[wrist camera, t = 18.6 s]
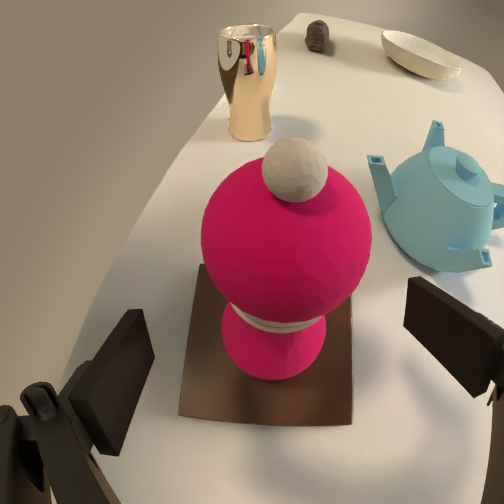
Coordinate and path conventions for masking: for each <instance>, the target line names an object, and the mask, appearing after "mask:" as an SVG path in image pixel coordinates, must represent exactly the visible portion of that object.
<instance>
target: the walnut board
mask: <svg viewBox="0 0 504 504" xmlns="http://www.w3.org/2000/svg"><path fill="white" fill-rule="evenodd" d="M228 302H229V301H228V300H227V299H226V298H225V297H224V296H223V295H222V293H221V292H220V291H219V290H218V289H217V287H216V286H215V284H214V282H213V280H212V278H211V277H210V275H209V273H208V271H207V268H206V265H205V264H200V266H199V271H198V277H197V283H196V289H195V295H194V302H193V308H192V314H191V321H190V328H189V335H188V342H187V349H186V356H185V363H184V371H183V379H182V387H181V395H180V404H179V413H178V415H179V416H185V417H192V418H198V419H206V420H214V421H222V422H232V423H244V424H258V425H278V426H331V425H351V424H352V392H353V354H352V320H351V300H350V296H349V297H348V298H347V299H345V300H344V301H343V302H342V303H341V304H340V305H339V306H338V307H337V308H335V309H334V310H332V311H330V312H329V313H327V314H325V319H326V335H325V339H324V342H323V345H322V348H321V350H320V352H319V354H318V356H317V357H316V359H315V360H314V361H313V362H312V364H311V365H310V366H309V367H307V368H306V369H305V370H304V371H302V372H300V373H299V374H297V375H295V376H292V377H289V378H286V379H280V380H266V379H260V378H257V377H254V376H251V375H250V374H248V373H246V372H244V371H243V370H241V369H240V368H239V367H238V366H237V365H236V364H235V363H234V362H233V361H232V360H231V358H230V357H229V355H228V354H227V351H226V349H225V347H224V343H223V339H222V330H221V323H222V317H223V313H224V310H225V308H226V306H227V304H228Z"/></svg>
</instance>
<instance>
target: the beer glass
mask: <svg viewBox="0 0 504 504" xmlns="http://www.w3.org/2000/svg"><path fill="white" fill-rule="evenodd" d="M217 34H218V64H219V71H220V76H221V80H222V84H223V87H224V90H225V93H226V97H227V100H228V104H229V109H230V118H229V126H228V130H229V133H230V134H231V136H233V137H234V138H236V139H238V140H242V141H257V140H261V139H263V138H265V137H267V136H268V135H269V134H270V133H271V131H272V123H271V118H270V112H269V107H270V100H271V95H272V91H273V86H274V82H275V76H276V70H277V47H276V35H275V30H274V28H272V27H269V26H266V25H260V24H239V25H233V26H228V27H225V28H223V29H221V30H219V31H218V33H217Z"/></svg>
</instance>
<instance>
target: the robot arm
mask: <svg viewBox="0 0 504 504" xmlns="http://www.w3.org/2000/svg"><path fill="white" fill-rule="evenodd" d="M403 326H404V327H405V328H406V329H407V330H408V331H409V332H410V333H411V334H412V335H413V336H414V337H415V338H416V339H417V340H418V341H419V342H420V343H421V344H422V345H423V346H424V347H425V348H426V349H427V350H428V351H429V352H430V353H431V354H432V355H433V356H434V357H435V358H436V359H437V360H438V361H439V362H440V363H441V364H442V365H443V366H444V367H445V368H446V369H447V370H448V371H449V373H450V374H451V375H452V376H453V377H454V378H455V379H456V380H457V381H458V382H459V383H460V384H461V385H462V386H463V387H464V388H465V389H466V390H467V392H468V393H469V394H470V395H471V396H472V397H473V398H475V397H477V396H479V395H481V394H483V393H485V392H486V391H487V389H488V386H489V384H490V381H491V380H492V381H493V382H494V383H495V387H494V389H493V391H492V394H491V396H490V398H489V401H488V403H487V406H489V405H490V403H491V401H493V405H492V406H493V413H492V431H491V443H490V453H489V461H488V468H487V474H486V480H485V486H484V491H483V496H482V501H481V504H504V329H503V328H501V327H500V326H498V325H497V324H494V322H493V321H491V320H490V319H489V320H488V318H487V317H485V316H484V315H482V314H481V313H478V312H475V311H474V310H472V309H471V308H469V307H468V306H466V305H464V304H463V303H461V302H460V301H458V300H457V299H455V298H454V297H452V296H451V295H449V294H448V293H446V292H444V291H443V290H441V289H440V288H438V287H437V286H435V285H433V284H432V283H430V282H429V281H427V280H425V279H424V278H422V277H421V276H418V277H413V278H408V288H407V298H406V308H405V316H404V324H403ZM154 359H155V355H154V352H153V348H152V345H151V341H150V337H149V334H148V330H147V326H146V322H145V318H144V314H143V310H142V309H128V310H127V311H126V313H125V314H124V315H123V317H122V318H121V320H120V321H119V322H118V324H117V325H116V327H115V328H114V329H113V331H112V332H111V334H110V335H109V336H108V338H107V339H106V341H105V342H104V344H103V345H102V346H101V348H100V349H99V351H98V352H97V354H96V355H95V357H94V358H93V360H92V361H85V362H84V363H83V364H81V365H80V366H79V367H77V369H76V370H75V372H74V373H73V376H71V377H70V379H69V380H68V382H67V383H66V385H65V386H64V388H63V389H62V390H61V392H60V393H59V395H58V396H57V394H56V392H55V390H54V388H53V386H52V385H51V384H50V383H47V382H38V383H34V384H32V385H30V386H28V387H27V388H25V389H24V390H23V392H22V393H21V396H20V400H21V401H22V404H23V405H24V407H25V409H26V411H27V412H28V414H29V415H28V416H18V415H17V414H16V412H15V410H14V409H13V408H12V407H11V406H9V405H2V406H0V504H52V502H51V491H50V486H51V489H52V491H53V494H54V496H55V499H56V502H57V504H121V502H120V501H119V499H118V498H117V496H116V494H115V493H114V491H113V490H112V488H111V486H110V485H109V483H108V481H107V480H106V478H105V476H104V475H103V473H102V471H101V469H100V467H99V466H98V464H97V462H96V460H95V458H94V456H93V455H92V453H91V452H90V451H91V449H92V446H93V444H94V445H95V447H96V448H97V450H98V452H99V453H100V454H104V455H111V456H118V457H119V454H120V451H121V448H122V446H123V443H124V440H125V437H126V434H127V431H128V428H129V425H130V423H131V420H132V417H133V414H134V412H135V409H136V406H137V403H138V401H139V398H140V395H141V393H142V390H143V387H144V385H145V382H146V379H147V377H148V374H149V371H150V369H151V366H152V364H153V361H154Z"/></svg>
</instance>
